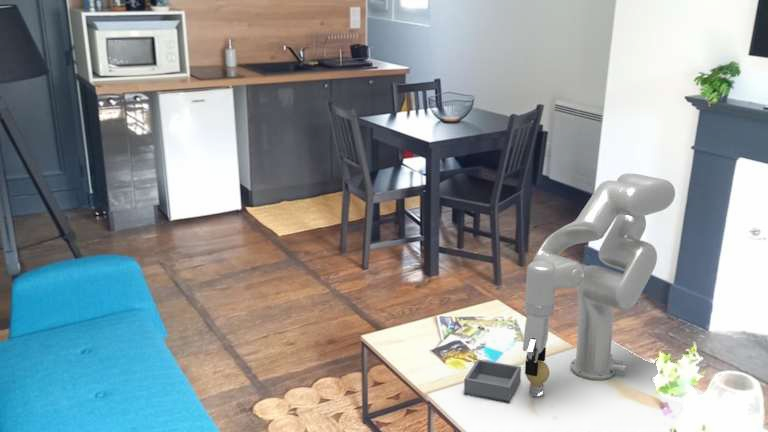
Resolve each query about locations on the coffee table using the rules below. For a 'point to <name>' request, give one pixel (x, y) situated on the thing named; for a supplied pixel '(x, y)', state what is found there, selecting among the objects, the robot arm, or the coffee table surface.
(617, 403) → the coffee table surface
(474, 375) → the bin
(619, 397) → the coffee table surface
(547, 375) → the light bulb
